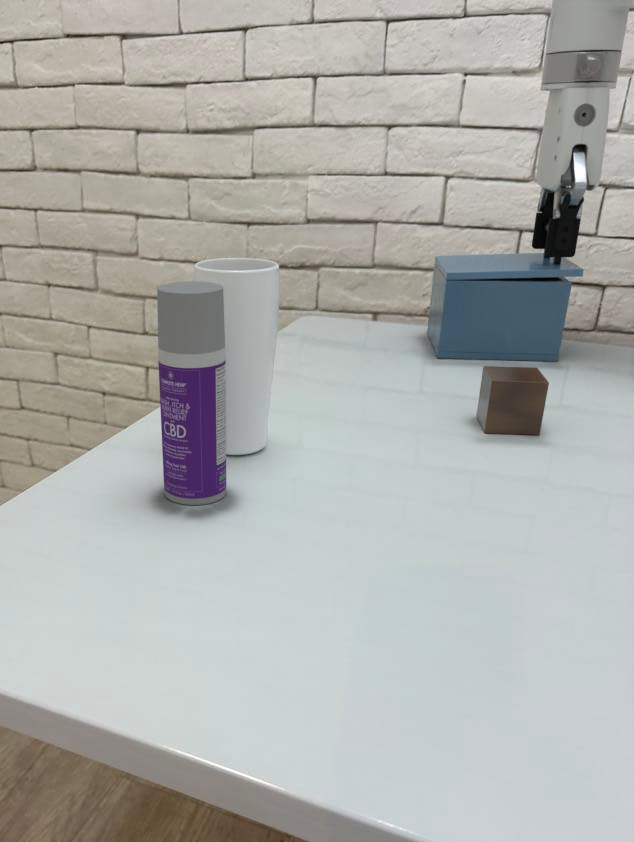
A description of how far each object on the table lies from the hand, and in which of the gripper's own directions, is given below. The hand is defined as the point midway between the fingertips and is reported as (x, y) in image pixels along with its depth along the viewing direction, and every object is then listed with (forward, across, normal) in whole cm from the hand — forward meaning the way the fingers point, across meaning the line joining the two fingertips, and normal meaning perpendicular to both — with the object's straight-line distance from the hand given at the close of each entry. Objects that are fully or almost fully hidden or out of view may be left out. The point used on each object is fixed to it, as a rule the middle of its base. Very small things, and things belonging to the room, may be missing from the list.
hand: (552, 251), depth 95 cm
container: (+11, -48, +35) cm, 60 cm away
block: (+11, -30, +9) cm, 33 cm away
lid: (+2, 0, +5) cm, 6 cm away
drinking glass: (+11, -38, +33) cm, 51 cm away
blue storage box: (+11, 0, +6) cm, 13 cm away
